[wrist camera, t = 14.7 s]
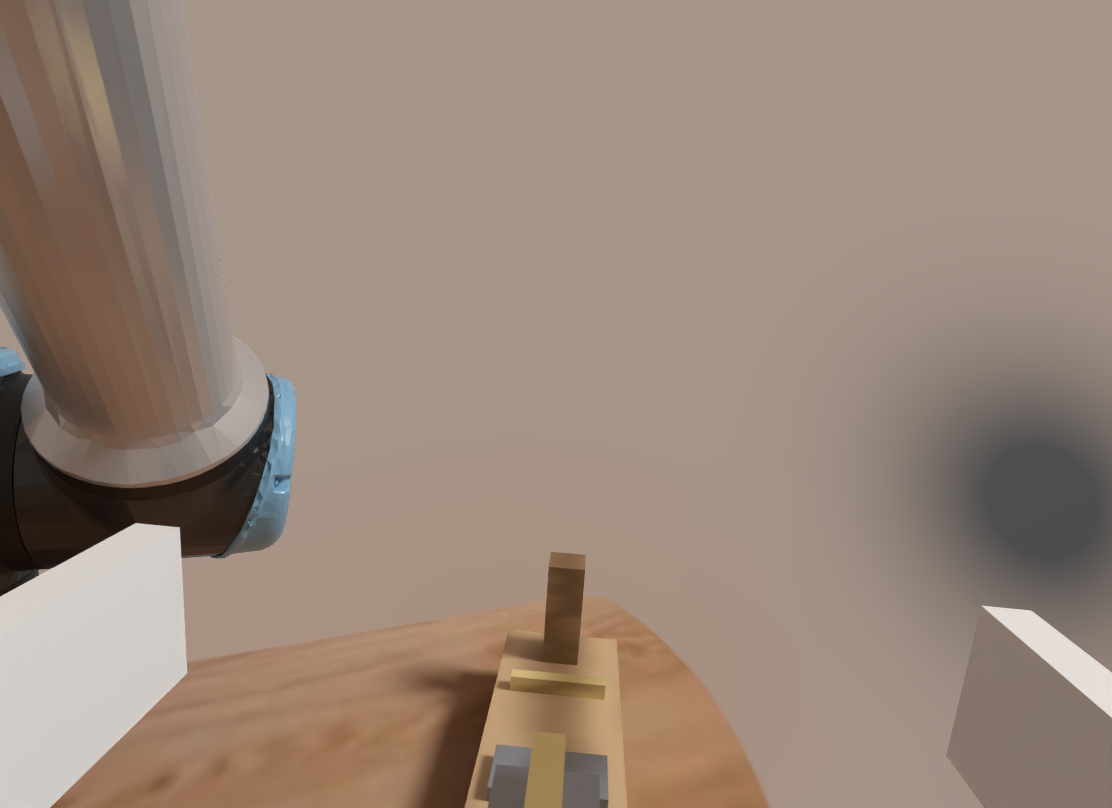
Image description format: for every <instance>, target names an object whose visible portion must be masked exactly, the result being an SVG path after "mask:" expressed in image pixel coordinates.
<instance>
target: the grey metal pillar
mask: <svg viewBox="0 0 1112 808" xmlns="http://www.w3.org/2000/svg"><path fill="white" fill-rule="evenodd" d="M565 747H566V734H558V733H548V732H538V731H534V737H533V744H532V751H531V759H530V766H529V768H527V767H518V766H508V765H498V764H496V769H495V774H494V779H493V784H492V789H491V794H490V798H489V803H488V808H600V778H599V775H595V774H586V773H576V772H566V771H564V763H565Z"/></svg>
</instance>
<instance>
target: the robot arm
mask: <svg viewBox="0 0 1112 808" xmlns="http://www.w3.org/2000/svg"><path fill="white" fill-rule="evenodd" d="M0 307H1V308H2V310H3V312H4V314H5V316H6V318H7V320H8V322H9V324H10V326H11V328H12V330H13V331H14V333H15V335H16V337H17V339H18V341H19V343H20V345H21V347H22V348H23V351H24V352H25V354H26V356H27V358H28V360H29V362H30V364H31V366H32V368H33V370H34V374H33V375H28V374H24V373H22V370H24V368H25V364H24V362H23V361H21V359H20V357H19V355H18V353H17V352H16V351H15V350H13V349H11V348H6V347H1V348H0V808H50V807H51V806H52V805H53V804H54V803H55V802H56V801H57V800H58V799H59V798H60V797H61V796H62V795H63V794H64V793H65V792H66V791H67V790H68V789H69V788H70V787H71V786H72V785H73V784H75V783H76V782H77V781H78V780H79V779H80V778H81V777H82V776H83V775H84V774H85V773H86V772H87V771H88V770H89V769H90V768H91V767H92V766H93V765H94V764H95V763H96V762H97V761H98V760H99V759H100V758H101V757H102V756H103V755H104V754H105V753H106V752H107V751H108V750H109V749H110V748H111V747H112V746H113V745H114V744H115V743H116V742H117V741H118V740H119V739H121V738H122V737H123V736H124V735H125V734H126V733H127V732H128V731H129V730H130V729H131V728H132V727H133V726H134V725H135V724H136V723H137V722H138V721H139V720H140V719H141V718H142V717H143V716H144V715H145V714H146V713H147V712H148V711H149V710H150V709H151V708H152V707H153V706H154V705H155V704H156V703H157V702H158V701H159V700H160V699H161V698H162V697H163V696H164V695H166V694H167V693H168V692H169V691H170V690H171V689H172V688H173V687H174V686H175V685H176V684H177V683H178V682H179V681H180V680H181V679H182V678H183V677H184V676H185V675H186V674H187V661H186V641H185V622H184V602H183V584H182V564H181V558H189V557H202V556H211V557H212V558H225V557H227V556H229V555H230V554H234V553H242V552H250V551H259V550H263V549H265V548H268V547H269V546H271V545H273V544H274V543H275V542H276V541H277V540H278V539H279V537H280V536H281V534H282V532H283V529H284V526H285V522H286V517H287V512H288V506H289V499H290V487H291V482H290V478H291V475H292V467H293V460H294V447H295V428H296V398H295V390H294V387H293V384H292V383H290V382H289V381H288V380H287V379H285V378H281V377H275V376H274V375H272V374H265V372H264V369H263V366H262V364H261V362H260V361H259V359H258V358H257V356H256V355H255V354H254V353H253V352H252V351H251V349H250V348H249V347H247V346H246V345H245V344H244V343H243V342H242V341H241V340H239V339H237V338H236V337H235V336H233V335H232V333H231V327H230V319H229V312H228V305H227V299H226V292H225V285H224V278H223V272H222V265H221V258H220V251H219V245H218V238H217V231H216V225H215V217H214V211H213V204H212V197H211V190H210V184H209V177H208V170H207V164H206V157H205V150H204V143H203V136H202V130H201V123H200V116H199V110H198V102H197V96H196V89H195V82H194V75H193V69H192V62H191V56H190V48H189V42H188V35H187V28H186V21H185V15H184V8H183V1H182V0H0ZM50 568H52V569H50ZM39 569H50V570H48V571H47V572H45V573H43V574H41V575H39V572H38V570H39ZM947 757H948V758H949V760H950V761H951V763H952V764H953V765H954V767H955V768H956V769H957V771H958V772H959V774H960V775H961V776H962V778H963V779H964V780H965V782H966V783H967V784H968V786H969V787H970V789H971V790H972V791H973V793H974V794H975V795H976V797H977V798H978V799H979V801H980V802H981V804H982V805H983V806H984V808H1112V673H1111V672H1110V671H1109V670H1107V669H1106V668H1105V667H1104V666H1102V665H1101V664H1100V663H1098V662H1097V661H1096V660H1094V659H1093V658H1092V657H1091V656H1089V655H1088V654H1087V653H1085V652H1084V651H1082V650H1081V649H1080V648H1079V647H1078V646H1076V645H1075V644H1074V643H1072V642H1071V641H1070V640H1069V639H1067V638H1066V637H1065V636H1063V635H1062V634H1061V633H1060V632H1058V631H1057V630H1056V629H1054V628H1053V627H1052V626H1050V625H1049V624H1048V623H1046V622H1045V621H1044V620H1043V619H1041V618H1040V617H1039V616H1037V615H1036V614H1035V613H1034V612H1032V611H1030V610H1019V609H1009V608H999V607H989V606H982V607H981V610H980V614H979V619H978V623H977V627H976V632H975V636H974V640H973V644H972V649H971V653H970V657H969V662H968V666H967V670H966V674H965V678H964V683H963V687H962V691H961V696H960V700H959V704H958V708H957V713H956V717H955V721H954V725H953V730H952V734H951V738H950V743H949V747H948V751H947Z"/></svg>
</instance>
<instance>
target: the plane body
mask: <svg viewBox="0 0 1112 808" xmlns="http://www.w3.org/2000/svg"><path fill="white" fill-rule="evenodd" d="M584 574H585V555H579V554H568V553H556V552H551V557H550V564H549V573H548V589H547V602H546V617H545V631H544V633H538V632H527V631H516V630H509V632H508V636H507V640H506V644H505V648H504V652H503V656H502V660H501V664H500V668H499V672H498V676H497V680H496V684H495V688H494V692H493V696H492V700H491V704H490V708H489V712H488V716H487V720H486V724H485V728H484V732H483V736H482V740H481V744H480V748H479V752H478V756H477V760H476V764H475V768H474V772H473V776H472V780H471V784H470V787H469V791H468V795H467V799H466V803H465V807H464V808H488V803H489V798H490V794H491V789H492V784H493V779H494V774H495V769H496V764H498V765H508V766H518V767H527V768H529V766H530V759H531V751H532V744H533V737H534V731H538V732H548V733H558V734H566V747H565V763H564V771H566V772H576V773H586V774H595V775H599V778H600V808H627V799H626V783H625V767H624V751H623V736H622V720H621V704H620V688H619V672H618V656H617V640H613V639H602V638H591V637H581V636H580V626H581V613H582V601H583V588H584Z"/></svg>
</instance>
